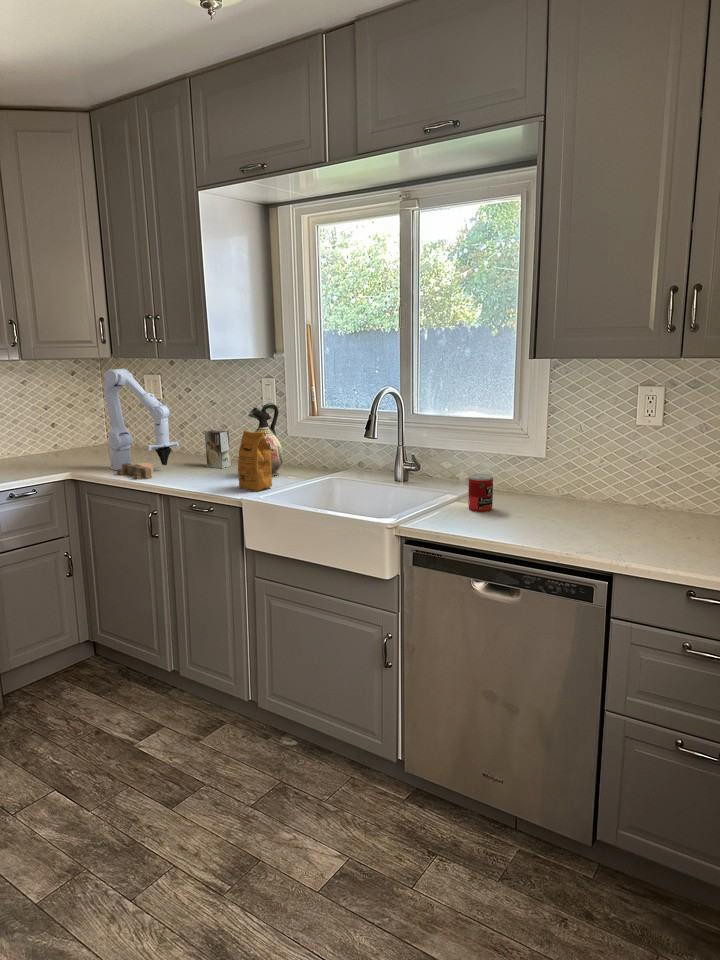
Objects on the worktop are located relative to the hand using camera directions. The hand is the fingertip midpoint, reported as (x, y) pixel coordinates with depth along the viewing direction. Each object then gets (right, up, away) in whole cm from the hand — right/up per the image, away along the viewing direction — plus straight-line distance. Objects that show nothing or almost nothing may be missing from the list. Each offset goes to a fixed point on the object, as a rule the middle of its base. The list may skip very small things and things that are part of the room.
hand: (164, 464), depth 300 cm
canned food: (+124, -16, -76) cm, 147 cm away
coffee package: (+46, -10, -38) cm, 60 cm away
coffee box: (+22, -1, +8) cm, 24 cm away
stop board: (-10, -5, -10) cm, 15 cm away
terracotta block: (-7, -4, -6) cm, 10 cm away
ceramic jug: (+47, -5, -14) cm, 49 cm away
